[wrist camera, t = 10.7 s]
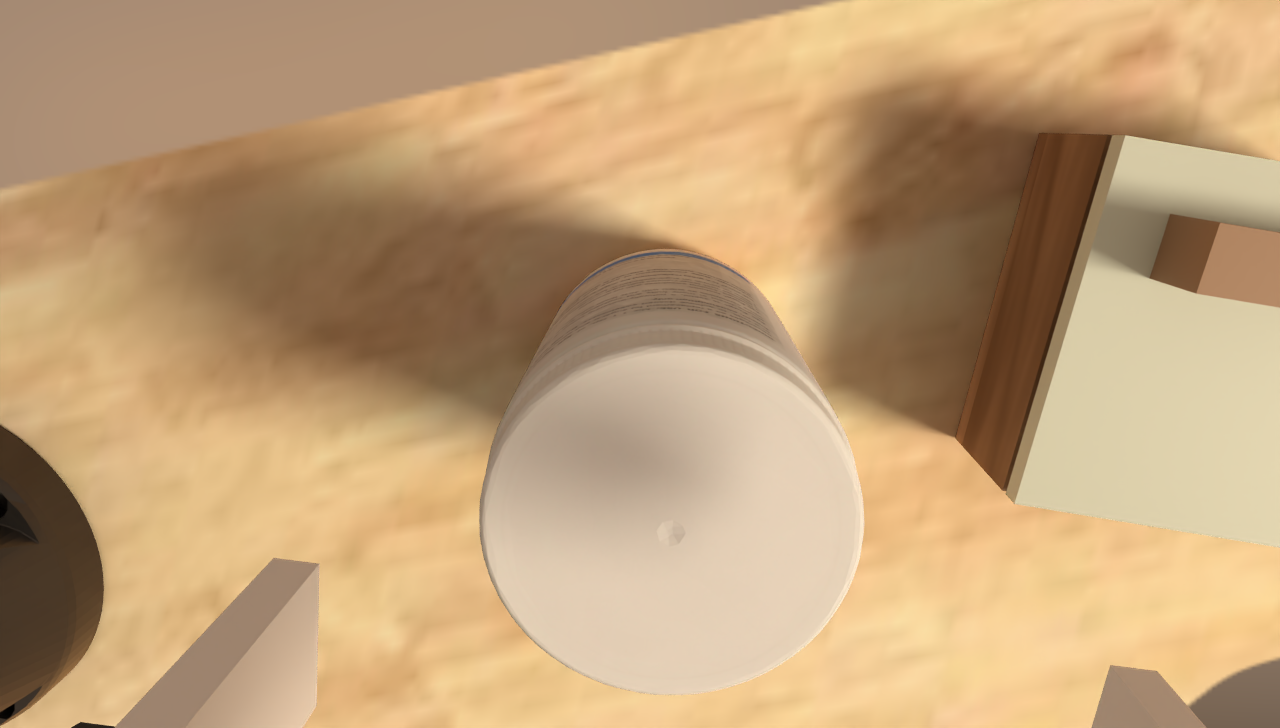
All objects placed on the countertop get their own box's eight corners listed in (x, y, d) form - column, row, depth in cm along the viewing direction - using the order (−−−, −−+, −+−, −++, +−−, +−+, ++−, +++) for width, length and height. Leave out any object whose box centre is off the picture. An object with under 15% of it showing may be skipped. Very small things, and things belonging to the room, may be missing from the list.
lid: (1005, 494, 30) (1045, 538, 27) (1112, 134, 27) (1172, 136, 23) (1293, 541, 30) (1367, 591, 27) (1434, 189, 27) (1537, 198, 24)
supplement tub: (499, 362, 35) (380, 524, 21) (667, 191, 33) (662, 242, 19) (670, 521, 37) (667, 772, 22) (840, 367, 35) (956, 536, 20)
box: (955, 438, 35) (1002, 490, 30) (1039, 133, 32) (1107, 134, 27) (1200, 478, 35) (1287, 537, 30) (1308, 178, 32) (1425, 188, 27)
